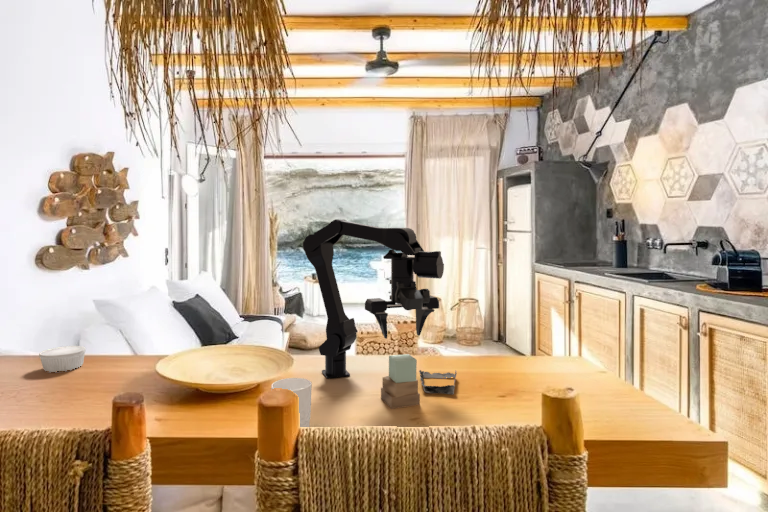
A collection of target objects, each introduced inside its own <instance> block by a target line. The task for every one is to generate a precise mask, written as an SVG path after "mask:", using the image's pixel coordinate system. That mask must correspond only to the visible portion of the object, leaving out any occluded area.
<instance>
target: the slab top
mask: <svg viewBox="0 0 768 512" xmlns="http://www.w3.org/2000/svg"><path fill="white" fill-rule="evenodd" d="M382 388H383V389H382V390H384V391H386V392H388V393H389V394H391V395H393V396H395V397H401V396H405V395H410V394H414V393H419V380H418V379H417V378H416V381H411V382H401V383H395V382H394V381H393V380H392V379H391V378H390V377H389V375H388V376H382Z"/></svg>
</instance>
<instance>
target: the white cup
mask: <svg viewBox="0 0 768 512" xmlns="http://www.w3.org/2000/svg"><path fill="white" fill-rule="evenodd" d="M312 385H313V383H312V381H311V380H310V379H308V378H304V377H287V378H282V379H279V380H276V381H274V382H273V383H271V390H272V389H274V388H282V389H288V390H291V391H293V392H294V393H296V394H297V395H298V397H299V413H300V427H309V428H310V421H311V411H312V409H311V408H312V407H311V406H312V387H313V386H312Z"/></svg>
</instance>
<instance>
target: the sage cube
mask: <svg viewBox="0 0 768 512" xmlns="http://www.w3.org/2000/svg"><path fill="white" fill-rule="evenodd" d="M388 376H389V377H390V378H391V379H392V380H393V381H394V382H395V383H401V382H411V381H416V379H417V359H416V358H415V357H413V356H412V355H411V354H409V353H405V354H394V355H388Z"/></svg>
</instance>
